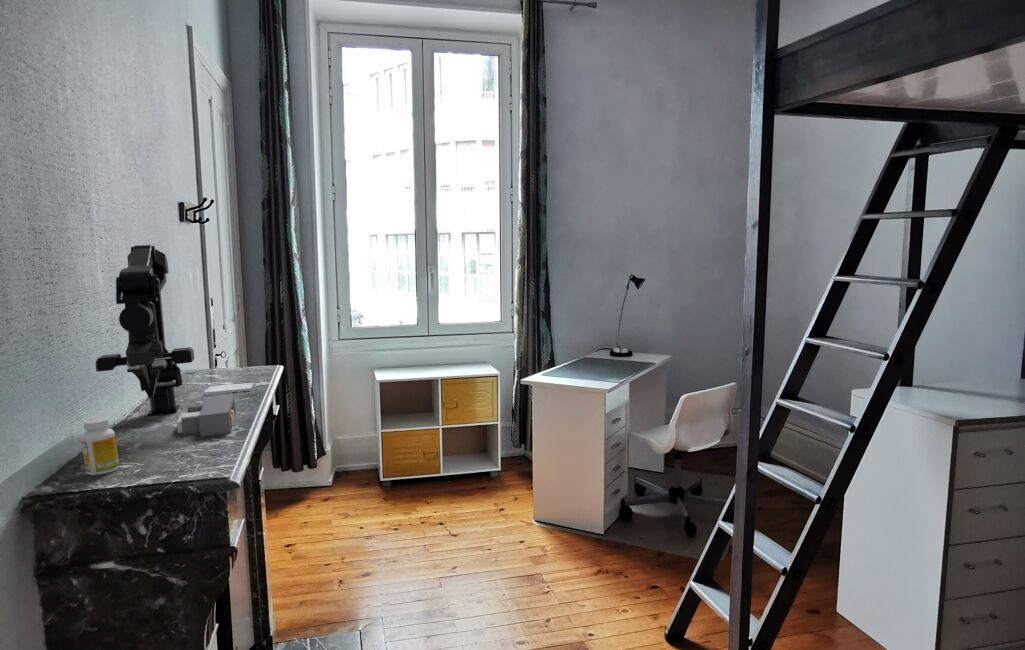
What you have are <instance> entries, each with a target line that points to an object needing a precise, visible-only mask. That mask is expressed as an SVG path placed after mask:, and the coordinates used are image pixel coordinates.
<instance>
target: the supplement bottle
mask: <svg viewBox="0 0 1025 650" xmlns="http://www.w3.org/2000/svg"><path fill="white" fill-rule="evenodd" d="M109 426H110V420H109V418H108V417H97V418H91V419H88V420H85V421H84V422H83V428H84V431H85V432H84V433H83V434H82V435H81V437H80V439H81V446H82V455H83V461H84V469H85V473H86V474H87V475H89V476H98V475H99V476H100V475H106V474H109V473H110V474H111V473H112V472H115V471H116V470H118V469H119V467H120V461H119V455H118V448H117V447H118V446H117V439H116V433H115V430H113V429H112V428H109Z"/></svg>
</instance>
